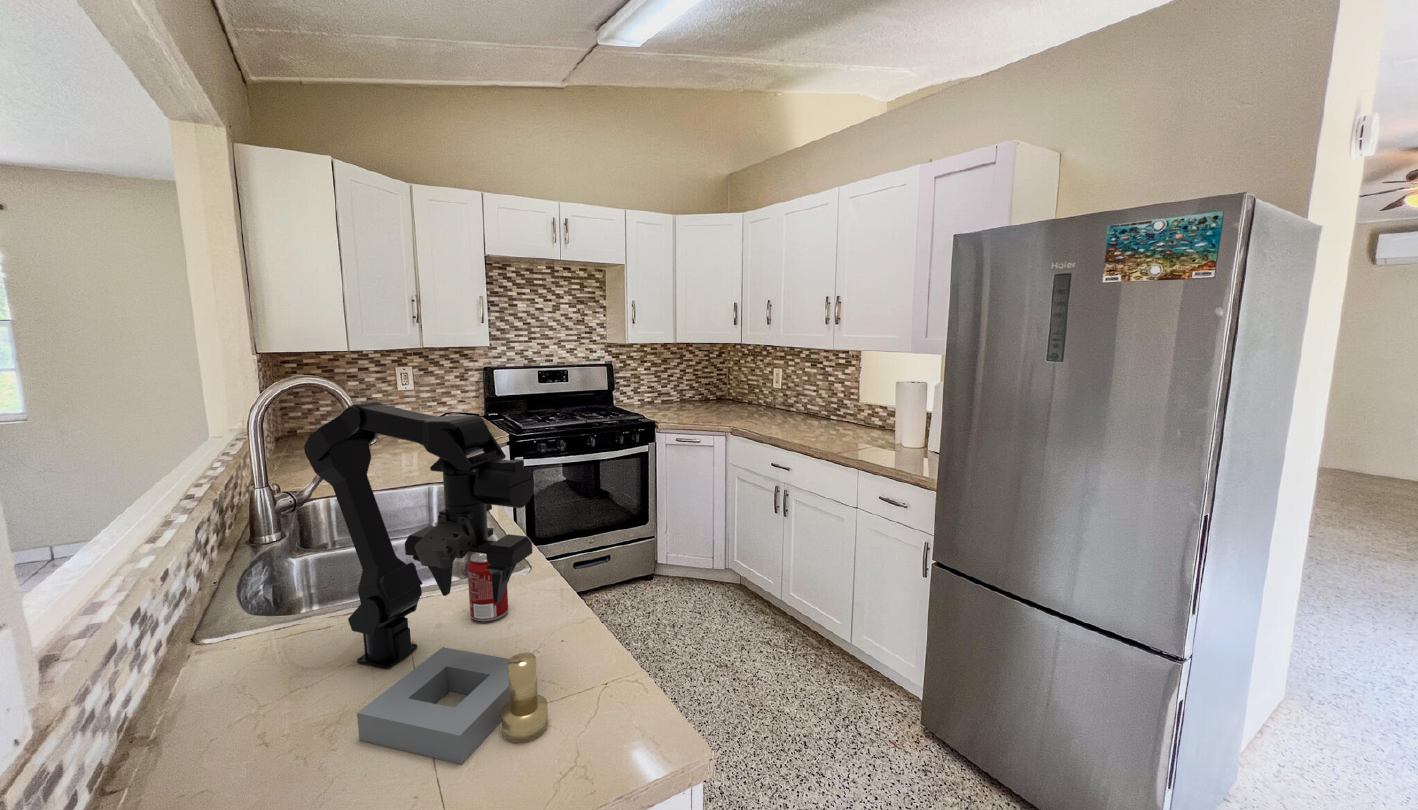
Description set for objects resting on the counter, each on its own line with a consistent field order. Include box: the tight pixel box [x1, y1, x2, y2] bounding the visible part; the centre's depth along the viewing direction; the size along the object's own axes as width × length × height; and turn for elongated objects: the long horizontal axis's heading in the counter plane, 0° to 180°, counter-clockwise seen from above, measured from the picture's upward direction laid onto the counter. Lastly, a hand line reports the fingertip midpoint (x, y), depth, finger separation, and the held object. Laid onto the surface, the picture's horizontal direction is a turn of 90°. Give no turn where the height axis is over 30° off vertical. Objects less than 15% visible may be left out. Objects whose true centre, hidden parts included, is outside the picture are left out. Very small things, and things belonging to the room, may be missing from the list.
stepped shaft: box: [501, 652, 549, 745], centre depth 78 cm, size 6×6×10 cm
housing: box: [356, 646, 510, 765], centre depth 81 cm, size 16×16×4 cm
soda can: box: [467, 552, 509, 623], centre depth 108 cm, size 7×7×12 cm
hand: (471, 598), depth 88 cm, fingers open, 9 cm apart
